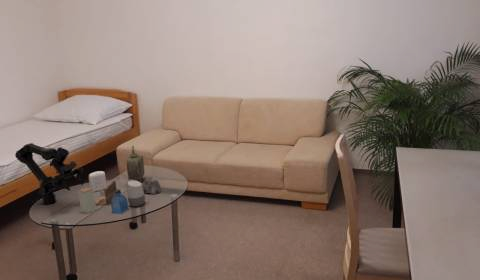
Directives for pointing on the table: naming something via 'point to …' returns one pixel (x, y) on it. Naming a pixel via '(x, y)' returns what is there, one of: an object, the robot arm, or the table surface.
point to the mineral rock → (151, 186)
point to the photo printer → (97, 181)
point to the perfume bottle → (119, 202)
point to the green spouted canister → (135, 166)
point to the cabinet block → (87, 200)
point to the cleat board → (107, 195)
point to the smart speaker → (135, 193)
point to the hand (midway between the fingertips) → (76, 187)
